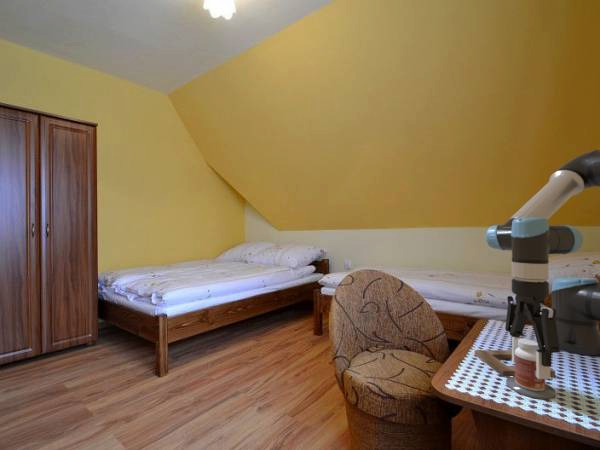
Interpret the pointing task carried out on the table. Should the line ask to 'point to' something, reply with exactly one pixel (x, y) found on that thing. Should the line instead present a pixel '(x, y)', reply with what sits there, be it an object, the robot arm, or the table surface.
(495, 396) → the table surface
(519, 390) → the slate coaster
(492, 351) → the wooden square frame
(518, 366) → the pill bottle
